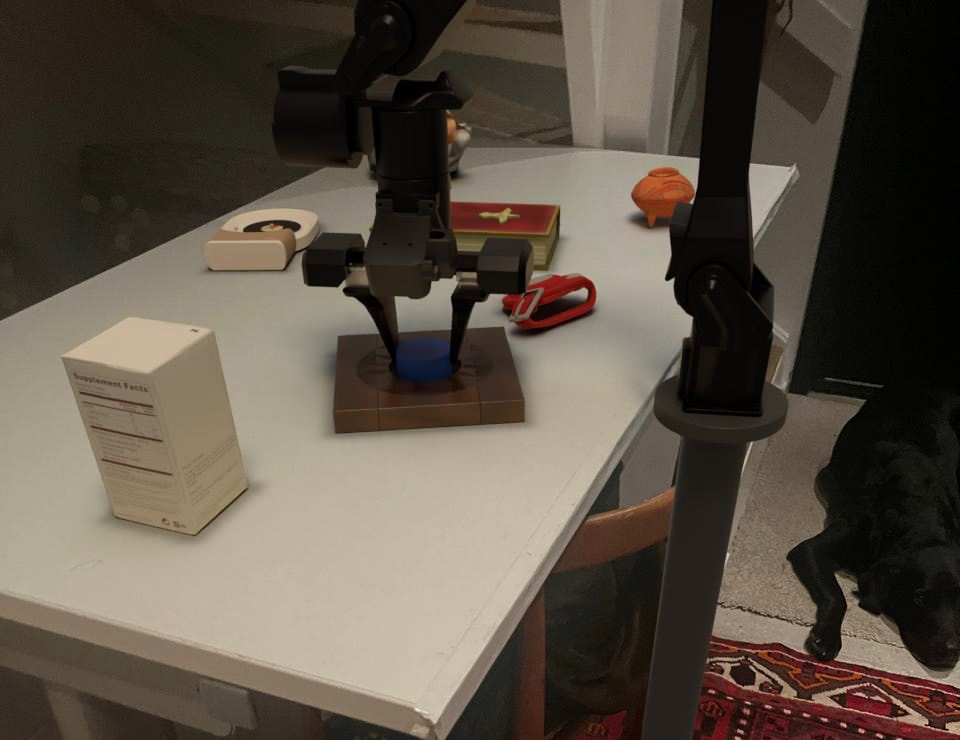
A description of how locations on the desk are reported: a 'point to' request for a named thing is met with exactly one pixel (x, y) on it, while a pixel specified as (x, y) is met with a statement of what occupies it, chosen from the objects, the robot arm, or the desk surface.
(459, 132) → the lucky cat figurine
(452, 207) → the hardcover book
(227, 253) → the record player
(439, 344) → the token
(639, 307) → the desk surface
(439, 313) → the desk surface
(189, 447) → the white packaging box
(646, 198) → the orange footed clay pot
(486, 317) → the desk surface
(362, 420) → the token holder
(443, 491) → the desk surface
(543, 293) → the red belt with buckle
